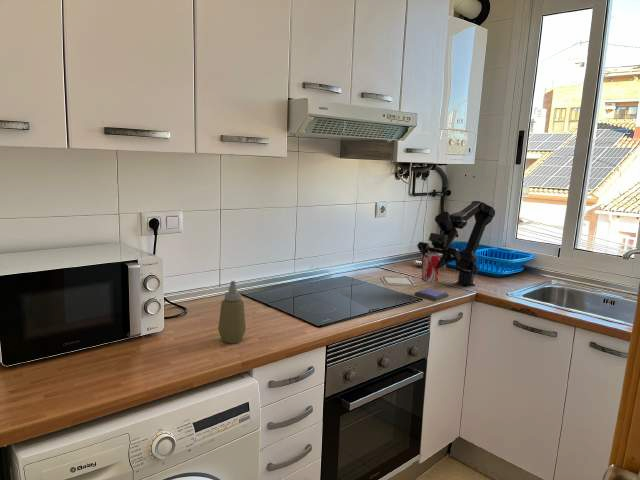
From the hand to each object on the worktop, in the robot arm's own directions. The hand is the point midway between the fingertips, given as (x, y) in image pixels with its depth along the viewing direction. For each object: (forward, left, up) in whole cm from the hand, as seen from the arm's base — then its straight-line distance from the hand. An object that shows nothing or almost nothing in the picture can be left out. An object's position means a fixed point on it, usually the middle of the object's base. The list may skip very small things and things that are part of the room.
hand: (429, 266), depth 195 cm
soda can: (-1, 0, -7) cm, 7 cm away
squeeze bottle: (+90, +17, -13) cm, 93 cm away
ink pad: (-2, +1, -12) cm, 12 cm away
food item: (-40, -41, -13) cm, 59 cm away
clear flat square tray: (-3, -23, -12) cm, 26 cm away
